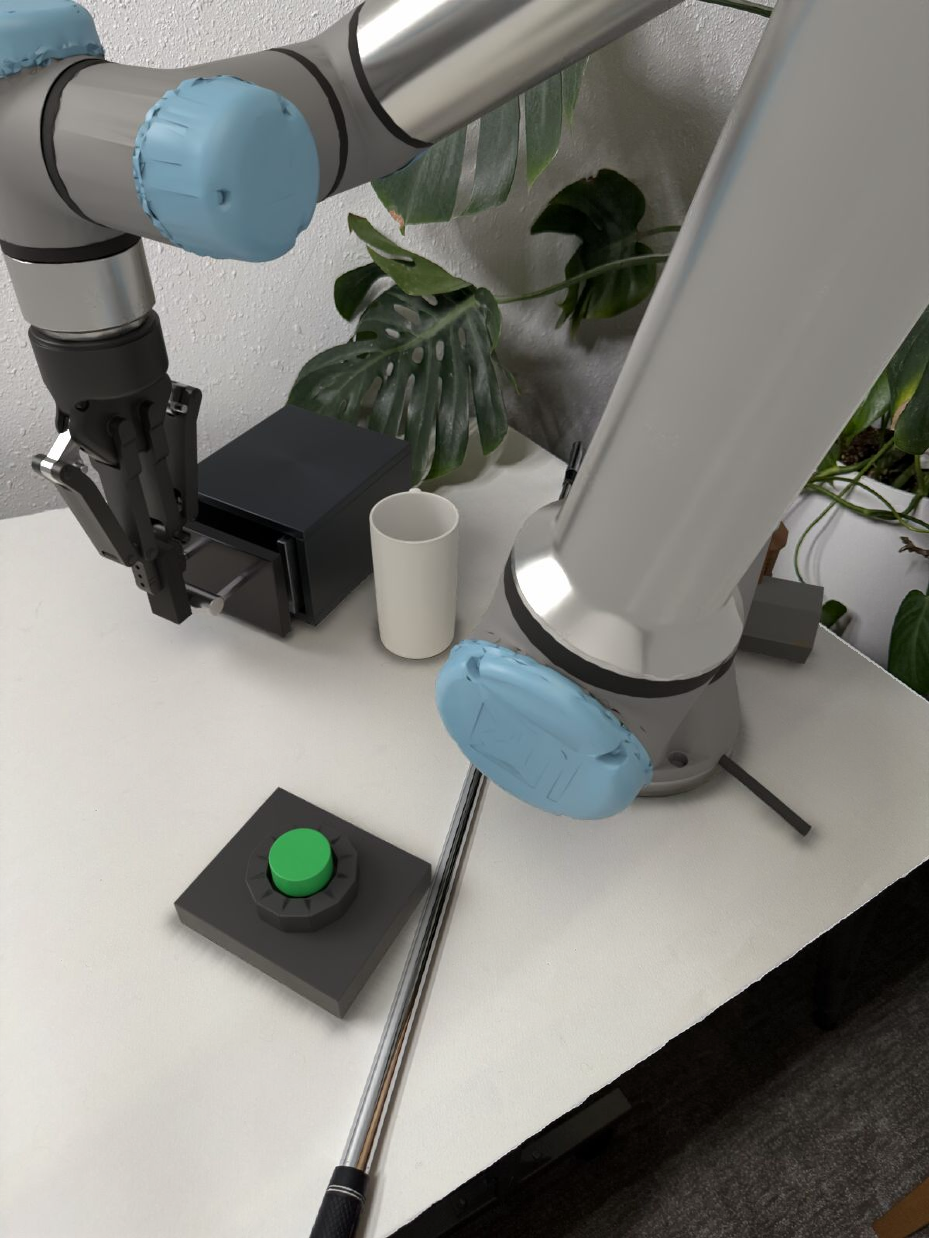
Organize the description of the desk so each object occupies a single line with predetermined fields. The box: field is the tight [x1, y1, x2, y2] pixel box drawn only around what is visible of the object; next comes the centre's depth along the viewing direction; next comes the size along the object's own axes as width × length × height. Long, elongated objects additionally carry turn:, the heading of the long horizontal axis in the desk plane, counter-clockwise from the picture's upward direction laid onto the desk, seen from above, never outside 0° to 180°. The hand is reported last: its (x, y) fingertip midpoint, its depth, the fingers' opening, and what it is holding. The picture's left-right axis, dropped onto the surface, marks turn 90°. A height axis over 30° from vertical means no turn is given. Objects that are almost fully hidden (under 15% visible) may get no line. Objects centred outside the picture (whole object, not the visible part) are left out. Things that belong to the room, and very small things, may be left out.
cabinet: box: [178, 403, 414, 627], centre depth 79 cm, size 16×14×10 cm
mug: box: [370, 487, 460, 660], centre depth 71 cm, size 10×7×12 cm, turn 2°
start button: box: [269, 828, 333, 897], centre depth 52 cm, size 4×4×2 cm
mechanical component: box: [737, 520, 825, 665], centre depth 73 cm, size 10×18×10 cm
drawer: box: [181, 501, 305, 639], centre depth 75 cm, size 19×13×8 cm, turn 151°
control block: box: [173, 786, 433, 1020], centre depth 54 cm, size 12×10×4 cm
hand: (172, 613), depth 68 cm, fingers closed
